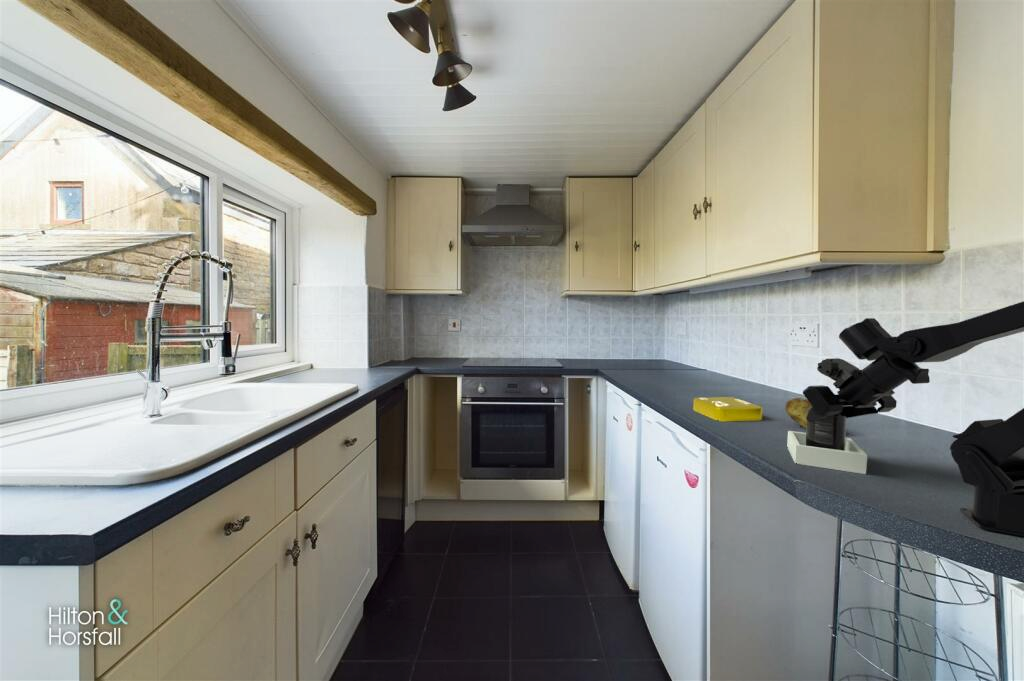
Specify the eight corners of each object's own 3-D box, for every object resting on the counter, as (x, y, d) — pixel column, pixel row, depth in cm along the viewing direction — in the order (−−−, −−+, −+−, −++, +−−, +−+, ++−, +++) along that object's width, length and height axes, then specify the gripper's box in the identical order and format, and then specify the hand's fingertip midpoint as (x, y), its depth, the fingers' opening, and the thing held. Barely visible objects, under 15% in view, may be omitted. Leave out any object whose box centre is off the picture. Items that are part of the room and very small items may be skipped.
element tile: (765, 421, 119) (766, 406, 119) (718, 423, 118) (719, 407, 117) (732, 409, 134) (733, 395, 134) (690, 410, 133) (691, 396, 132)
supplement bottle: (852, 454, 85) (856, 399, 84) (827, 456, 84) (830, 400, 83) (821, 444, 92) (824, 393, 91) (797, 446, 90) (800, 394, 89)
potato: (818, 436, 104) (819, 406, 103) (778, 422, 117) (780, 396, 116) (845, 435, 105) (847, 405, 104) (803, 421, 118) (805, 395, 117)
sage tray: (865, 474, 80) (867, 455, 80) (795, 463, 86) (796, 445, 85) (849, 455, 91) (850, 438, 90) (787, 446, 96) (788, 430, 96)
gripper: (883, 346, 84) (828, 387, 96) (813, 347, 80) (765, 391, 92) (927, 389, 77) (862, 428, 89) (853, 393, 73) (795, 434, 84)
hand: (820, 419), depth 89 cm, fingers closed on supplement bottle, 7 cm apart
